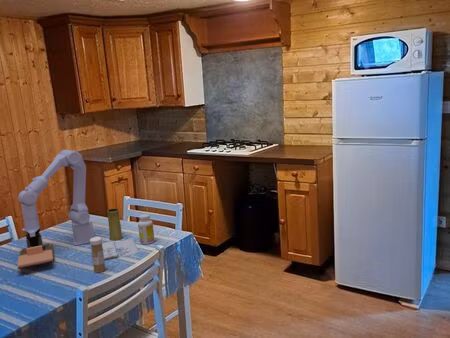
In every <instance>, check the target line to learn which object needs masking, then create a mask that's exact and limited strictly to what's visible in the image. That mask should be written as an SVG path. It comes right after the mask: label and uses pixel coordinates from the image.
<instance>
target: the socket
mask: <svg viewBox="0 0 450 338" xmlns="http://www.w3.org/2000/svg"><path fill="white" fill-rule="evenodd" d="M26 249H27V247H24V248H21V249H20V250H19V255H18V256H22V255H27V250H26ZM43 249H44V250H43V251H47V250H52V255H53V261H48V262H44V263H39V264H34V265H29V266H24V267H19V268H18V269H24V268H28V267H33V266H38V265H42V264H49V263H52V262H55V250H54V244H53V243H51V244H50V243H43Z"/></svg>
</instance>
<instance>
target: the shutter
mask: <svg viewBox="0 0 450 338" xmlns="http://www.w3.org/2000/svg"><path fill="white" fill-rule="evenodd" d="M26 248H27V247H26ZM26 250H27V255H22V256H19V255H18V257H17V266H16V267H17V268H18V269H20V268H19V267H24V266H29V265H34V264H39V263H44V262H48V261H53V255H52V250H47V251H43V248H42V245H41V246H36V247H30V248H27V249H26ZM53 262H54V261H53ZM48 263H49V262H48ZM44 264H45V263H44ZM39 265H40V264H39ZM34 266H35V265H34ZM29 267H30V266H29ZM24 268H25V267H24Z"/></svg>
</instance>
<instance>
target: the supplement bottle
mask: <svg viewBox="0 0 450 338" xmlns="http://www.w3.org/2000/svg"><path fill="white" fill-rule="evenodd" d="M138 217H139V221H138V223H137V228H138V236H139V243H140V244H141V245H151V244H152V243H154V242H155V231H154V224H153V223H154V222H153V221H152V219H150V218H151V215H150V214H148V213H143V214H140V215H139V216H138Z"/></svg>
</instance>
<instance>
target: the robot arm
mask: <svg viewBox="0 0 450 338" xmlns="http://www.w3.org/2000/svg"><path fill="white" fill-rule="evenodd" d="M68 166H69V167H70V168H71V170H73V184H72V185H73V187H72V188H73V189H72V191H73V192H72V193H73V195H72V204H71V205H70V208H69V209H70V210H69V212H68V215H67V217H68V219H69V220H70V221H71V227H72V234H73V236H72V237H73V239H72V242H73V246H79V245H83V244H88V243H89V244H90V239H91V238H94V237H96V234H95V231H94V228H95V227H94V223H93V221H90V216H91V215H90V214H89V208H88V206H87V204H86V189H87V188H86V184H87V183H86V182H87V181H86V179H87V166H86V162H85V161H84V159H83V155H82V154H81V153H79V152H78V151H77V150H70V149H62V150H61V151H59V153H57V154H56V156H55V158H54V159H53V160H52V162H51V163H50V164H49V166H48V167H47V168H46V169H45V170H44V172H43V173H42V174H41V175H40V176H39V175H38V176H37V175H36V177H33V178H32V179H31V180H32V181H31V183H29V185H27V186H25V187H24V190H22V191H20V192H19V193H18V197H17V200H18V202H19V203H20V204H21V205H20V206H21V212H22V218H23V225H24V228H23V227H22V228H21V231H22V232H25V233H26V234H25V238H27V239H28V240H29V242H30V244H31V247H36V246H38V240H39V236H40V235H41V233H40V231H41V225H40V221H39V216H38V211H37V210H38V209H37V205H36V204H37V203H36V202H38V196H39V195H41V193H42V192H43V191H44V189H46V188H47V186H48V185H49V184H48V181H49V180H50V179H51V177H52V176H53V177H54V175H55V174H56V173H57V172H58V170H59V169H61V168H64V167H68Z"/></svg>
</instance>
